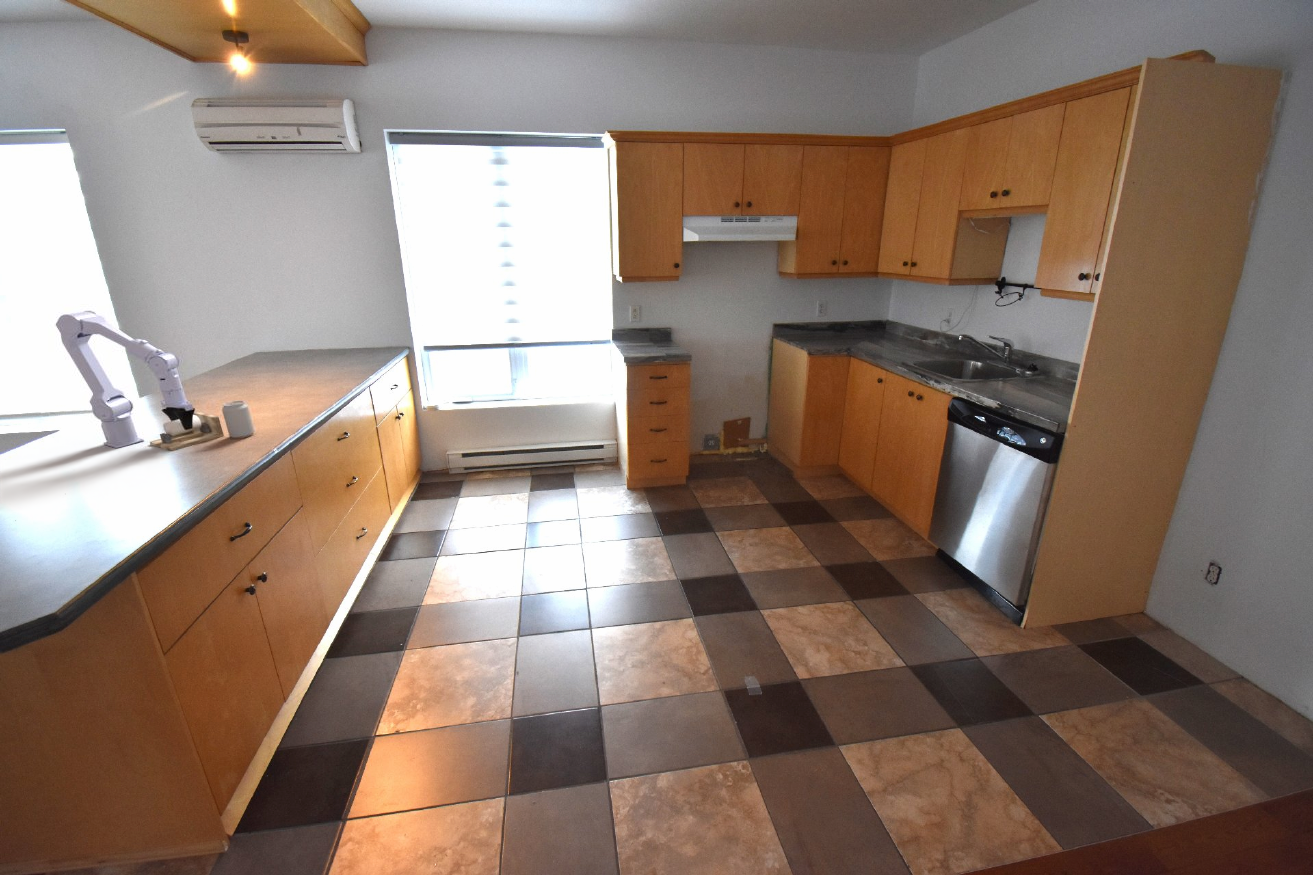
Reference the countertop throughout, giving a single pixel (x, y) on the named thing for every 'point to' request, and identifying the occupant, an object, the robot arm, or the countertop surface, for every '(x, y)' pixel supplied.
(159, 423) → the countertop surface
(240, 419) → the can
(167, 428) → the cylinder
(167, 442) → the roll holder
